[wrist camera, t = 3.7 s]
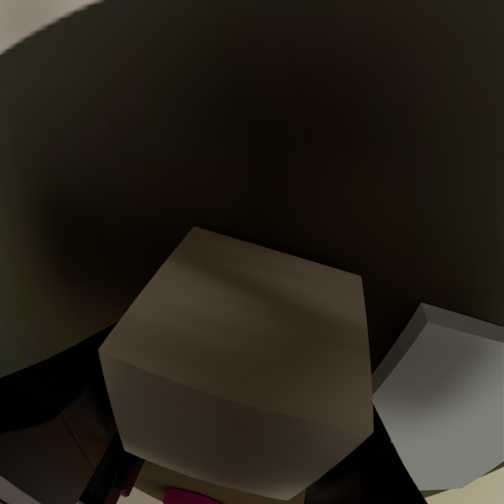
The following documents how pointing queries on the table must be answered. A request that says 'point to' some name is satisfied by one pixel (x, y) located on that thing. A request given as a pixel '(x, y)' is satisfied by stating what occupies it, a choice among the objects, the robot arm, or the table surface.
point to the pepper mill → (186, 497)
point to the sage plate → (444, 397)
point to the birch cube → (242, 367)
